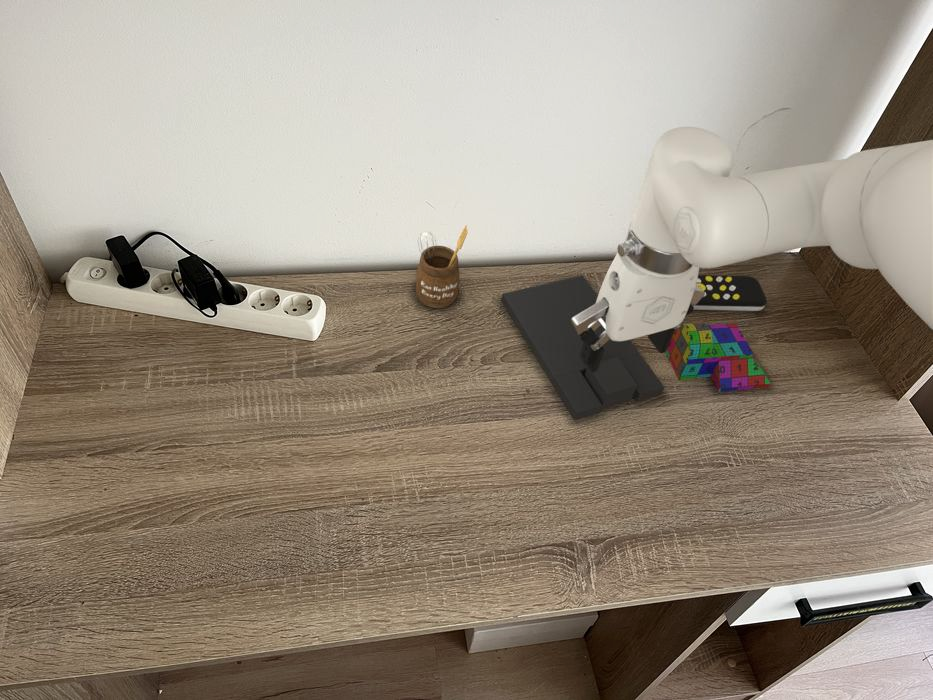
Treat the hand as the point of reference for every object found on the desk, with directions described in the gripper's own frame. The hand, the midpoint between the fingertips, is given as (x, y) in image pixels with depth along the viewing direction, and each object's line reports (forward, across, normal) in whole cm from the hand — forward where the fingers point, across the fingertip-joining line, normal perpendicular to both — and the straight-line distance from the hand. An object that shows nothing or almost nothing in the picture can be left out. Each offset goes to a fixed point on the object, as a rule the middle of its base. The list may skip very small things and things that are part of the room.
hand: (622, 354), depth 91 cm
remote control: (+7, +25, +11) cm, 28 cm away
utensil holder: (+7, -15, +24) cm, 29 cm away
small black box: (+7, 0, +1) cm, 8 cm away
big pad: (+7, 0, +9) cm, 11 cm away
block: (+8, +16, -1) cm, 18 cm away
